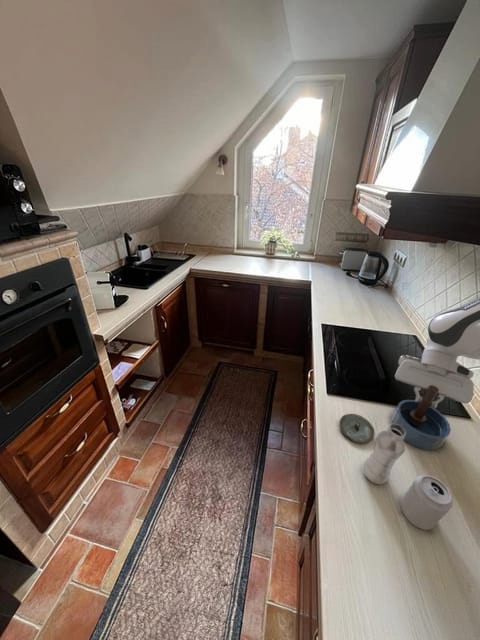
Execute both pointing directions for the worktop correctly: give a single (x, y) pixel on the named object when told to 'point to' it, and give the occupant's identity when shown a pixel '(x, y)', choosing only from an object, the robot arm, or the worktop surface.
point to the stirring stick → (423, 407)
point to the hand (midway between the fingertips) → (425, 404)
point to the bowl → (427, 434)
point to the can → (426, 502)
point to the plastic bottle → (385, 454)
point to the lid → (356, 428)
